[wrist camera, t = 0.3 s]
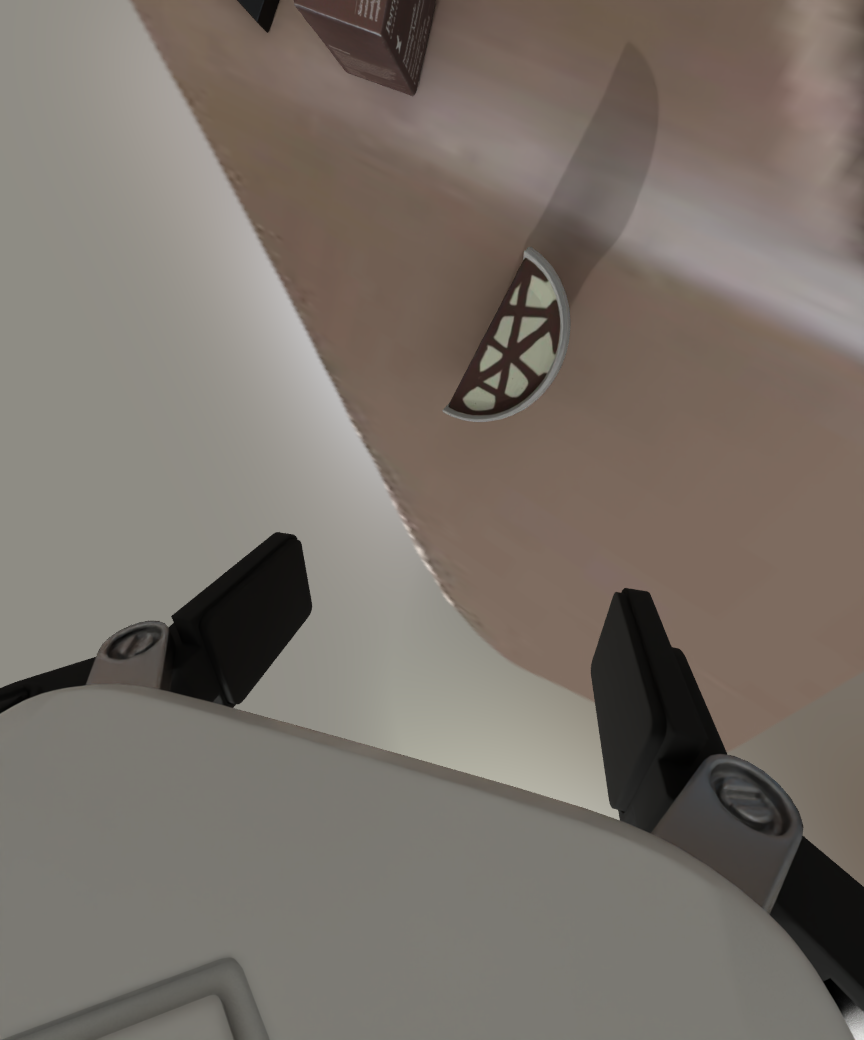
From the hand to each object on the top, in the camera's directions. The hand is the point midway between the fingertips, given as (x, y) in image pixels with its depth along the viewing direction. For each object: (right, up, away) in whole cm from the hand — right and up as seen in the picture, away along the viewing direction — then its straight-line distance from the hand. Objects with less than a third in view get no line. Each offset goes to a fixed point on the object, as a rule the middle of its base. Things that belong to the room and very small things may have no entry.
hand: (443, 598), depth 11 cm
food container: (+8, +18, +24) cm, 31 cm away
